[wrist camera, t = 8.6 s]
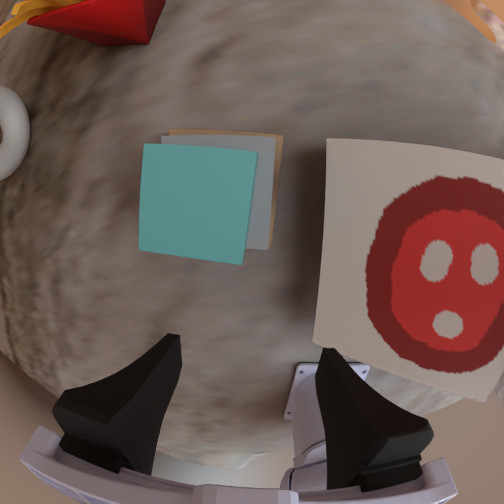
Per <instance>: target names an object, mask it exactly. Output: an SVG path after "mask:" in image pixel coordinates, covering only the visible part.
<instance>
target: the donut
mask: <svg viewBox="0 0 504 504" xmlns="http://www.w3.org/2000/svg"><path fill="white" fill-rule="evenodd" d="M0 126H1V129H2V134H3V138H2V143H1V144H0V180H2V179H5V178H7V177H9V176H10V175H11V174H12V173H13V172H14V171H15V170H16V169H17V168H18V167H19V166H20V164H21V162H22V160H23V158H24V156H25V155H26V152H27V148H28V144H29V140H30V123H29V117H28V113H27V110H26V108H25V105H24V103H23V102H22V100H21V99H20V97H19V96H18V95H17V94H16V93H15V92H14V91H12V90H11V89H10V88H8V87H5V86H1V85H0Z"/></svg>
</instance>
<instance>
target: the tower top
mask: <svg viewBox="0 0 504 504" xmlns="http://www.w3.org/2000/svg"><path fill="white" fill-rule="evenodd" d="M275 143H276V137H264V136H245V135H169V136H161V144H173V145H190V146H204V147H216V148H226V149H236V150H244V151H253V152H257V153H258V155H259V156H258V163H257V170H256V178H255V185H254V192H253V200H252V207H251V215H250V222H249V230H248V237H247V242H246V247H245V249H257V250H268V245H269V232H270V218H271V204H272V190H273V175H274V159H275Z"/></svg>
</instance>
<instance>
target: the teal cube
mask: <svg viewBox="0 0 504 504" xmlns="http://www.w3.org/2000/svg"><path fill="white" fill-rule="evenodd" d="M258 156H259V155H258V153H257V152H253V151H244V150H236V149H226V148H216V147H204V146H190V145H173V144H144V150H143V160H142V172H141V186H140V206H139V250H141V251H148V252H155V253H161V254H168V255H175V256H182V257H188V258H195V259H202V260H209V261H216V262H224V263H231V264H238V265H242V263H243V257H244V252H245V247H246V242H247V237H248V230H249V222H250V215H251V207H252V200H253V192H254V185H255V178H256V170H257V163H258Z"/></svg>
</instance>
